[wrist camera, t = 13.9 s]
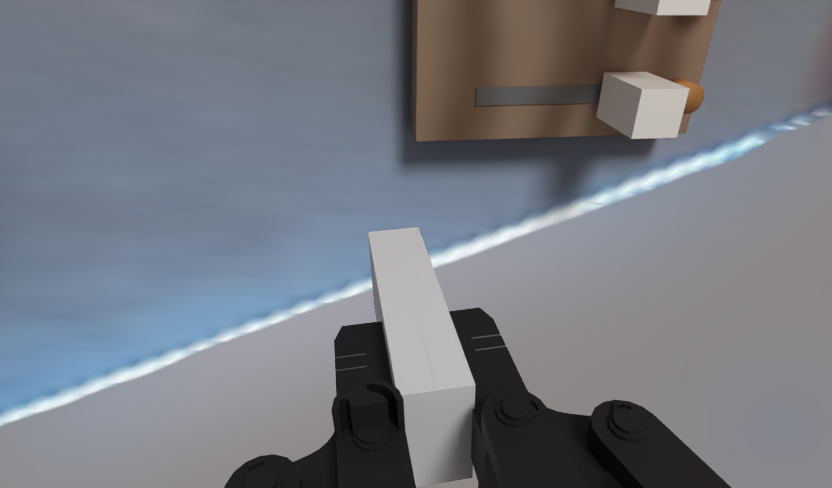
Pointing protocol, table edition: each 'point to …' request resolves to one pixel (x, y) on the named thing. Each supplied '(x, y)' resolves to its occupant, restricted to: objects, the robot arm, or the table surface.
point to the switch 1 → (666, 6)
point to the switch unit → (540, 64)
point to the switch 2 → (642, 104)
